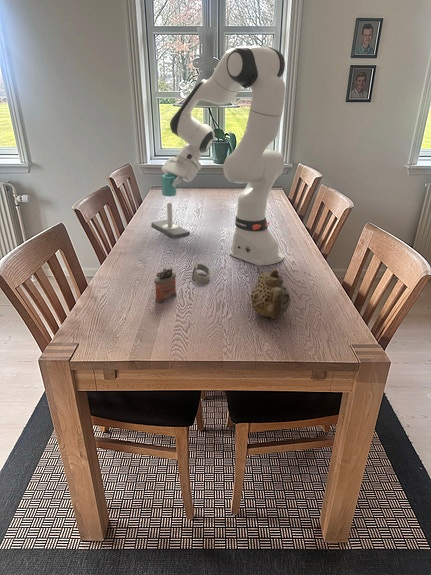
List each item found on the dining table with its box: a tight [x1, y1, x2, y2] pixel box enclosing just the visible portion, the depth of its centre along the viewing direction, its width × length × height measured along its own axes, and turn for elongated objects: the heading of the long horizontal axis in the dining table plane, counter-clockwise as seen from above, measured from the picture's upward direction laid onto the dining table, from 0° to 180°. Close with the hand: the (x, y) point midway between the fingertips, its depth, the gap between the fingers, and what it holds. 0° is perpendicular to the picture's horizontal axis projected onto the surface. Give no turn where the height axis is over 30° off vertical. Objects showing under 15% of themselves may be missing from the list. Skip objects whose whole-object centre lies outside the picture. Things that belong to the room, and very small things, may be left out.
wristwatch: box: [192, 263, 212, 284], centre depth 142 cm, size 9×6×5 cm
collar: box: [161, 174, 177, 197], centre depth 177 cm, size 6×6×8 cm
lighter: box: [154, 267, 177, 304], centre depth 127 cm, size 8×3×10 cm, turn 141°
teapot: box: [250, 268, 292, 320], centre depth 119 cm, size 21×12×15 cm, turn 4°
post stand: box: [150, 202, 191, 239], centre depth 183 cm, size 20×8×13 cm, turn 37°
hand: (167, 184), depth 176 cm, fingers closed on collar, 6 cm apart
